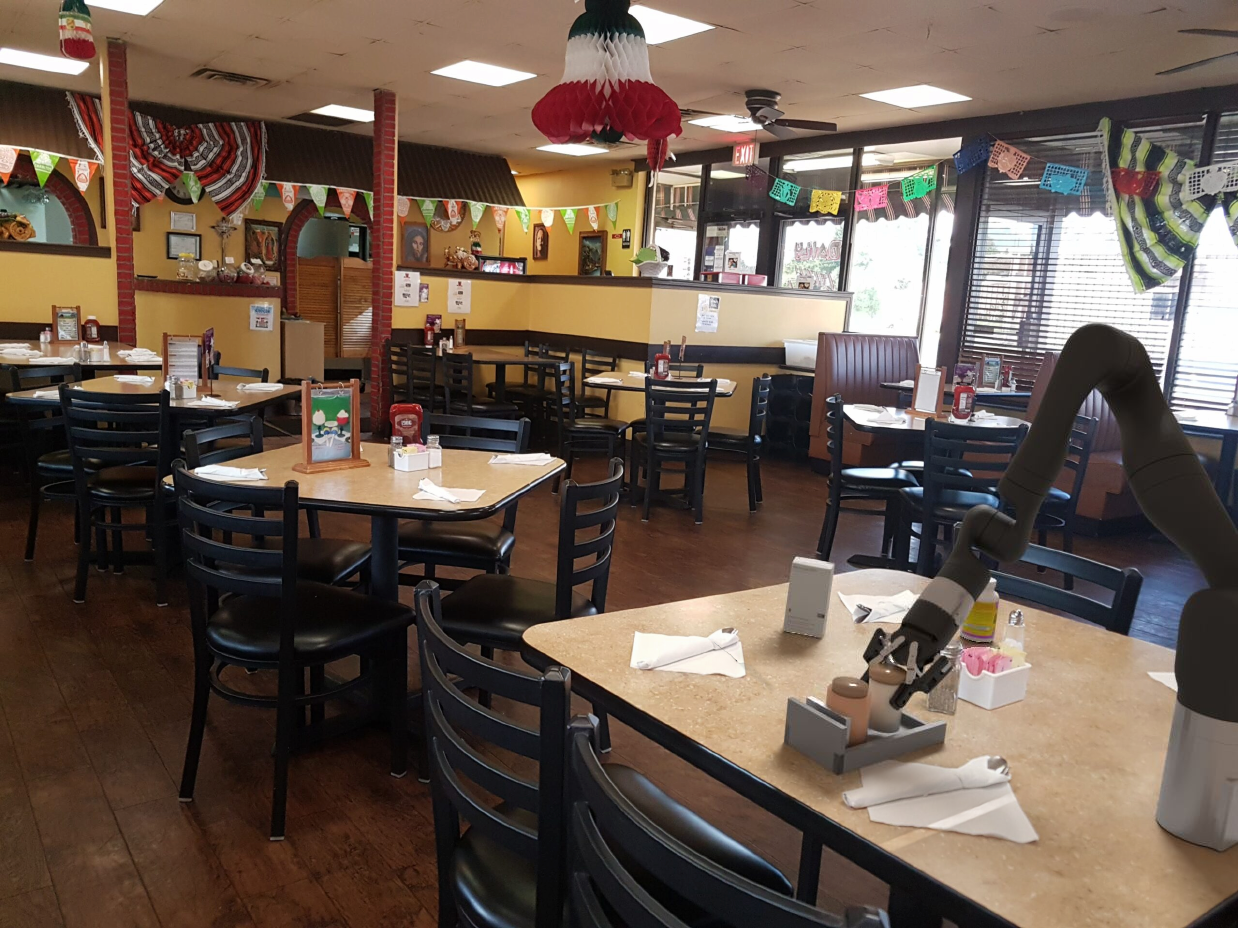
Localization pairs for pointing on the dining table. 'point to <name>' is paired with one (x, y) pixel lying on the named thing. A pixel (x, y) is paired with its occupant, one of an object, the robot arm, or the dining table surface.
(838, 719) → the plate
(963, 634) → the supplement bottle
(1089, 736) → the dining table surface
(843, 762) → the pusher lane
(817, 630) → the skincare box
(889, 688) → the cream jar
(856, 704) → the terracotta jar
